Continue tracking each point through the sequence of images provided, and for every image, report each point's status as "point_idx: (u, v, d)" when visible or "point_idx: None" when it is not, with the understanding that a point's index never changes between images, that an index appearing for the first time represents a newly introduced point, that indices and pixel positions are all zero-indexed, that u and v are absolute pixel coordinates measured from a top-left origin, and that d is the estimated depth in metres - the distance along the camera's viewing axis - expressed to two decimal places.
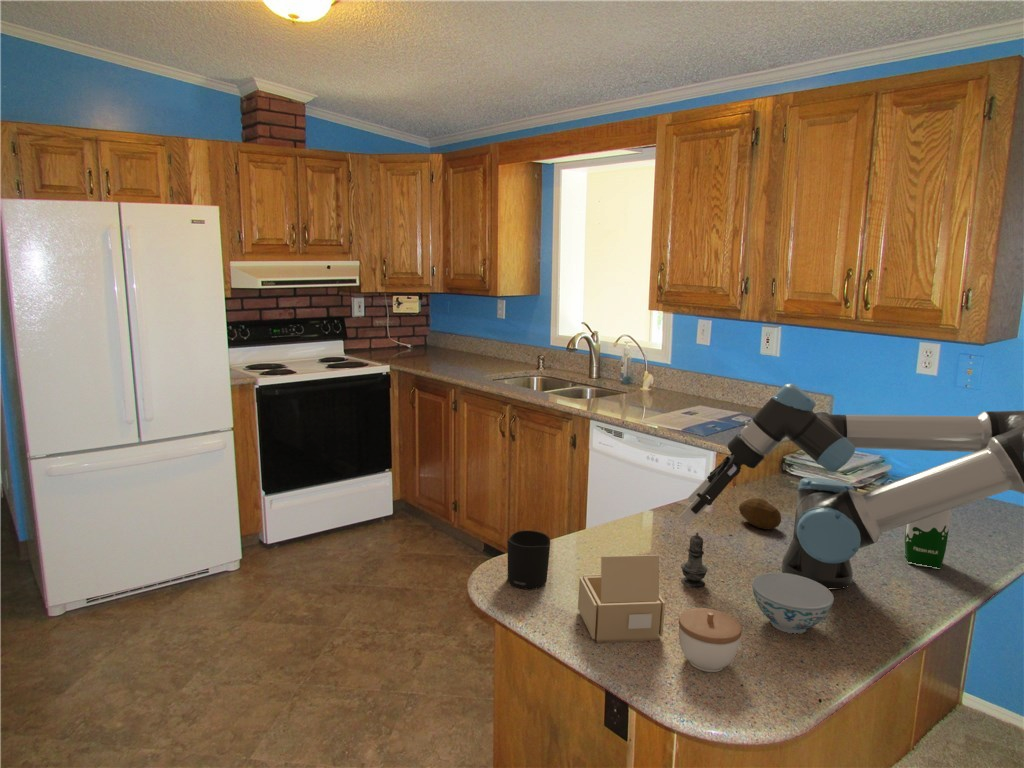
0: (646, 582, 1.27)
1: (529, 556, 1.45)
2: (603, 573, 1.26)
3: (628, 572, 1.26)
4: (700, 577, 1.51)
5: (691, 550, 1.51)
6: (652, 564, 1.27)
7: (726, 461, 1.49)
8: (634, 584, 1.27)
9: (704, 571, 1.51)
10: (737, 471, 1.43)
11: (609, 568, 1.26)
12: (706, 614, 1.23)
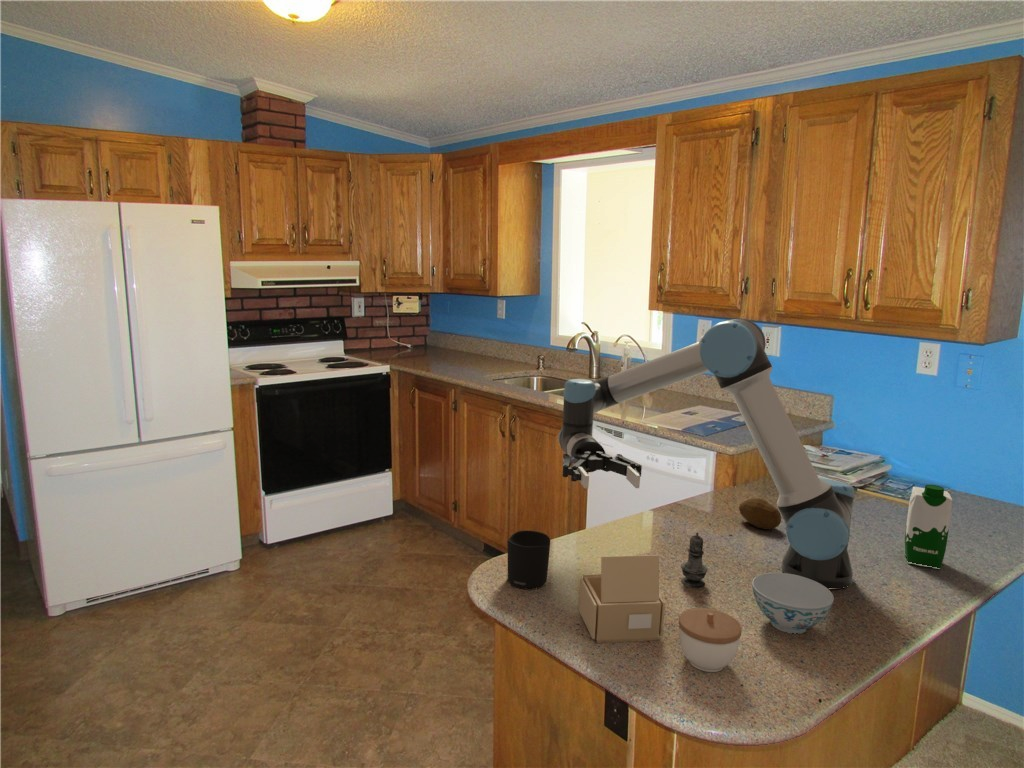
0: (646, 582, 1.27)
1: (529, 556, 1.45)
2: (603, 573, 1.26)
3: (628, 572, 1.26)
4: (700, 577, 1.51)
5: (691, 550, 1.51)
6: (652, 564, 1.27)
7: None
8: (634, 584, 1.27)
9: (704, 571, 1.51)
10: None
11: (609, 568, 1.26)
12: (706, 614, 1.23)
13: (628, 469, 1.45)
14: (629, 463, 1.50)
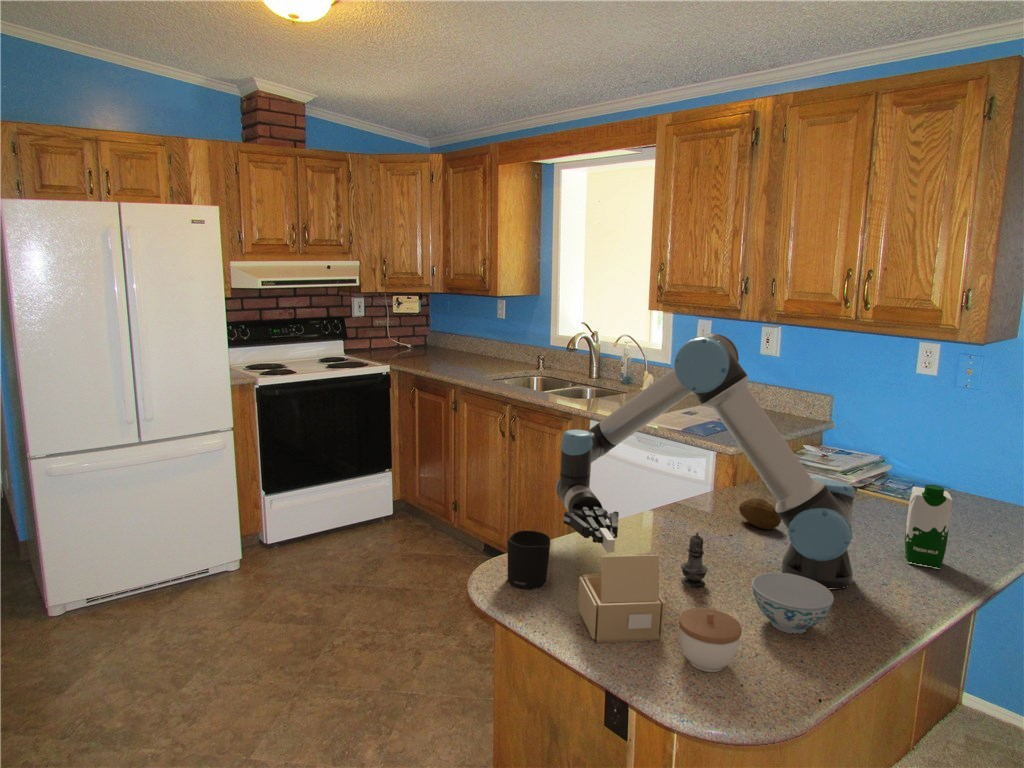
0: (646, 582, 1.27)
1: (529, 556, 1.45)
2: (603, 573, 1.26)
3: (628, 572, 1.26)
4: (700, 577, 1.51)
5: (691, 550, 1.51)
6: (652, 564, 1.27)
7: None
8: (634, 584, 1.27)
9: (704, 571, 1.51)
10: (564, 514, 1.53)
11: (609, 568, 1.26)
12: (706, 614, 1.23)
13: None
14: (611, 522, 1.49)
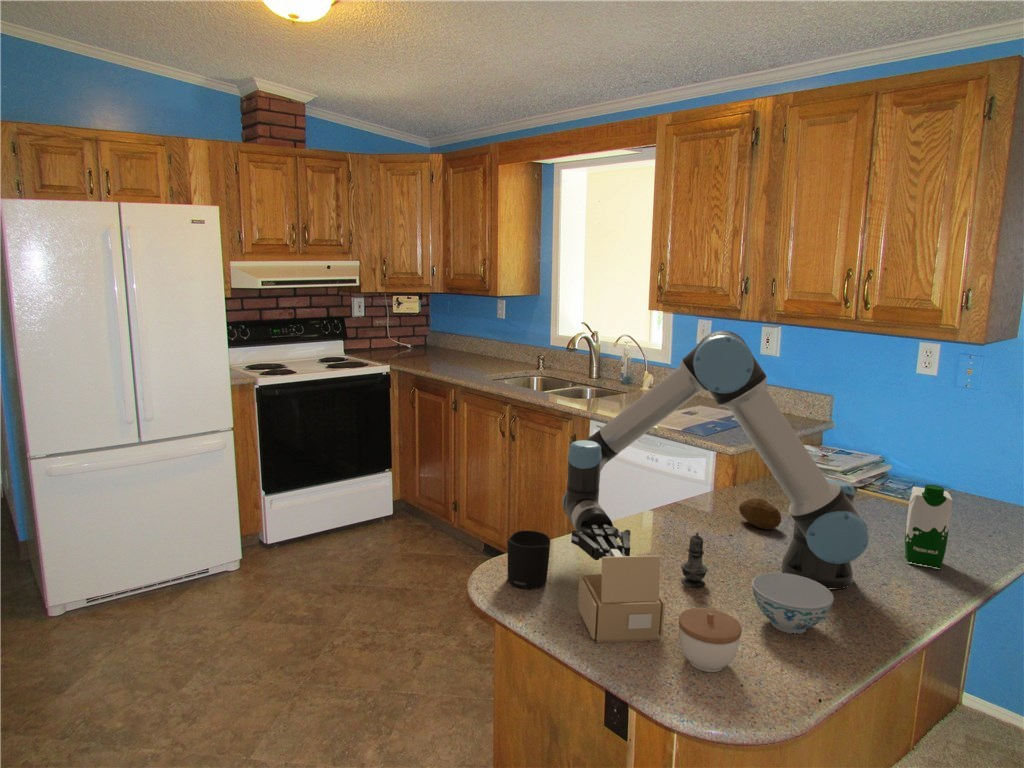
0: (646, 583, 1.27)
1: (529, 556, 1.45)
2: (604, 574, 1.25)
3: (628, 572, 1.26)
4: (700, 577, 1.51)
5: (691, 550, 1.51)
6: (653, 565, 1.27)
7: None
8: (634, 584, 1.26)
9: (704, 571, 1.51)
10: None
11: (610, 568, 1.26)
12: (706, 614, 1.23)
13: None
14: (623, 542, 1.37)
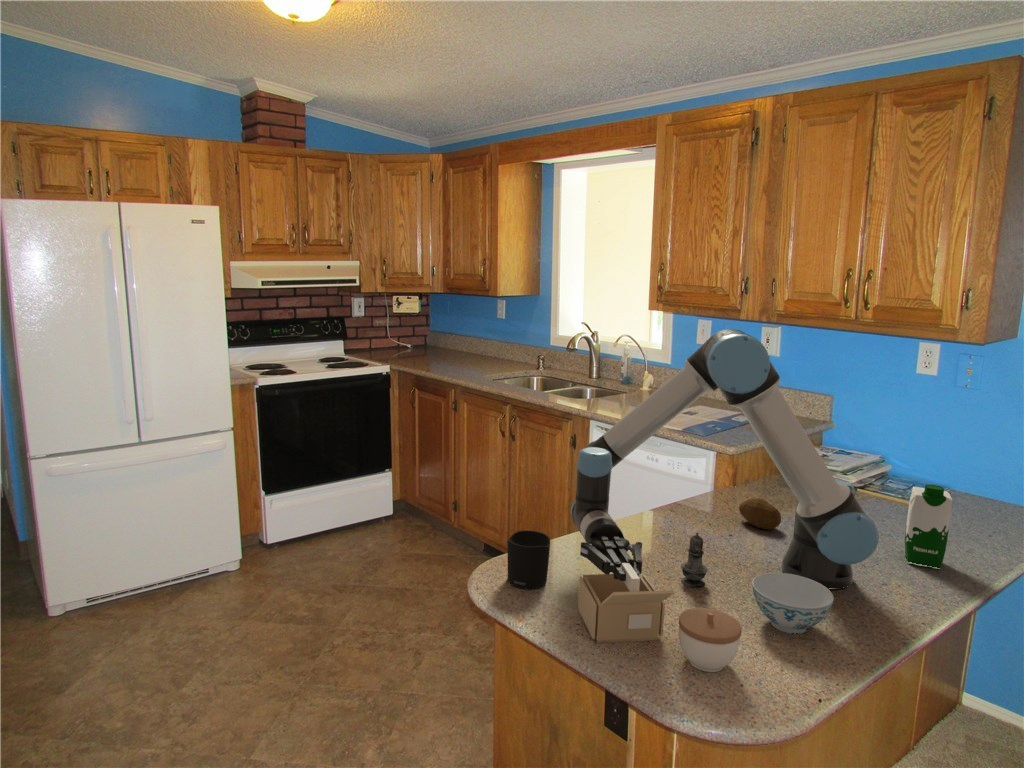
0: (651, 599, 1.24)
1: (529, 556, 1.45)
2: (611, 598, 1.21)
3: (636, 597, 1.21)
4: (700, 577, 1.51)
5: (691, 550, 1.51)
6: (664, 595, 1.21)
7: None
8: (639, 600, 1.24)
9: (704, 571, 1.51)
10: (581, 545, 1.35)
11: (619, 597, 1.20)
12: (706, 614, 1.23)
13: None
14: (634, 555, 1.31)
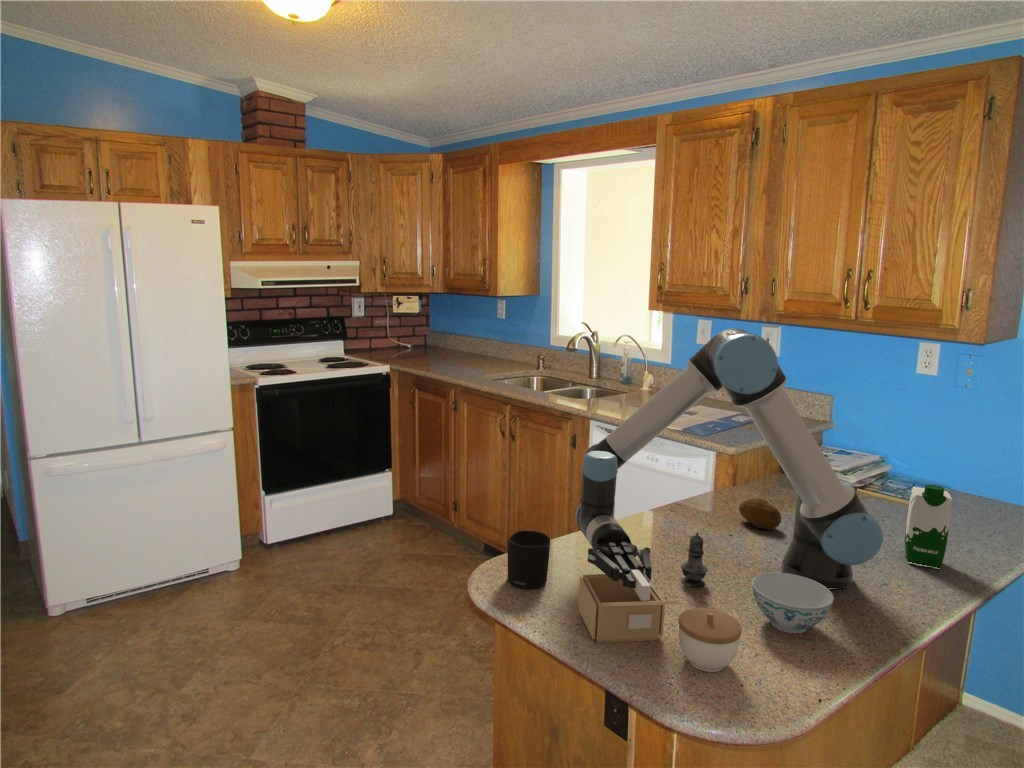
0: None
1: (529, 556, 1.45)
2: (611, 605, 1.20)
3: None
4: (700, 577, 1.51)
5: (691, 550, 1.51)
6: None
7: None
8: None
9: (704, 571, 1.51)
10: (588, 551, 1.33)
11: None
12: (706, 614, 1.23)
13: None
14: (643, 562, 1.29)
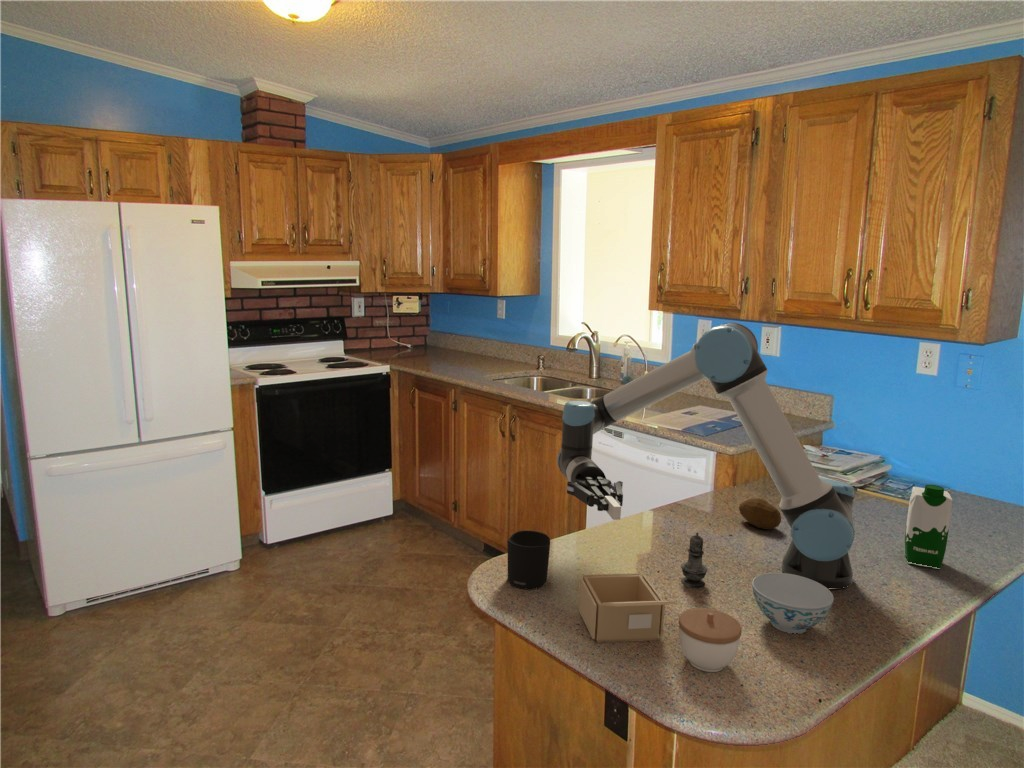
0: None
1: (529, 556, 1.45)
2: (611, 605, 1.20)
3: None
4: (700, 577, 1.51)
5: (691, 550, 1.51)
6: None
7: None
8: None
9: (704, 571, 1.51)
10: (567, 484, 1.49)
11: None
12: (706, 614, 1.23)
13: None
14: (616, 491, 1.46)
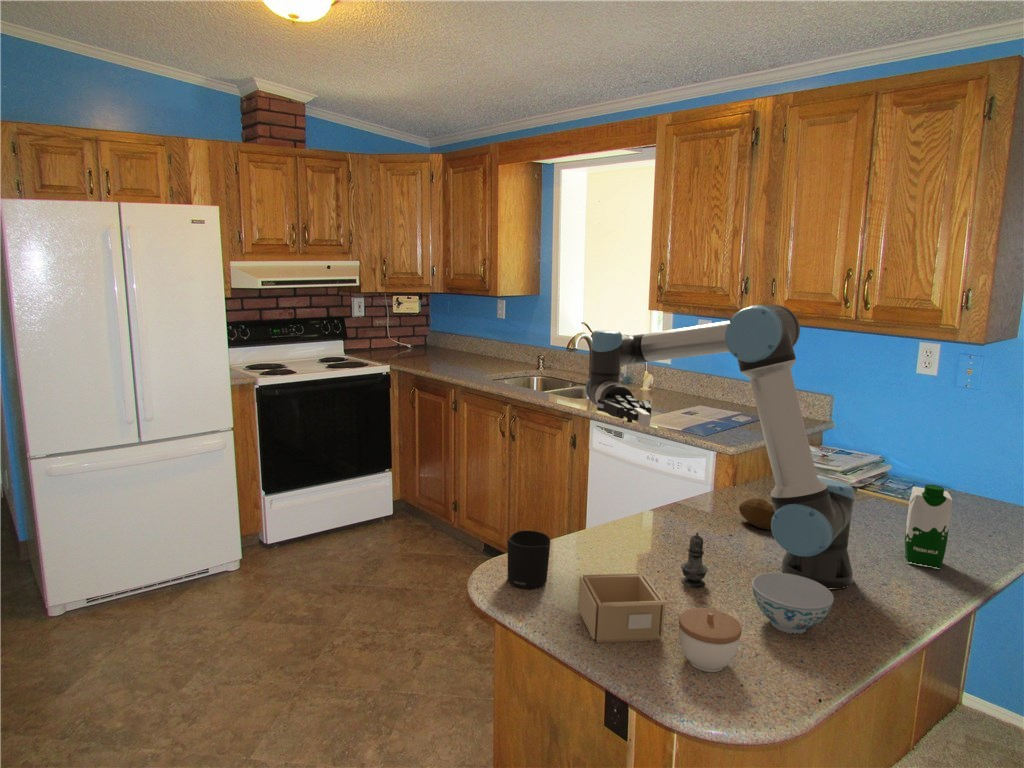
0: None
1: (529, 556, 1.45)
2: (611, 605, 1.20)
3: None
4: (700, 577, 1.51)
5: (691, 550, 1.51)
6: None
7: None
8: None
9: (704, 571, 1.51)
10: (597, 401, 1.57)
11: None
12: (706, 614, 1.23)
13: None
14: (644, 406, 1.53)
